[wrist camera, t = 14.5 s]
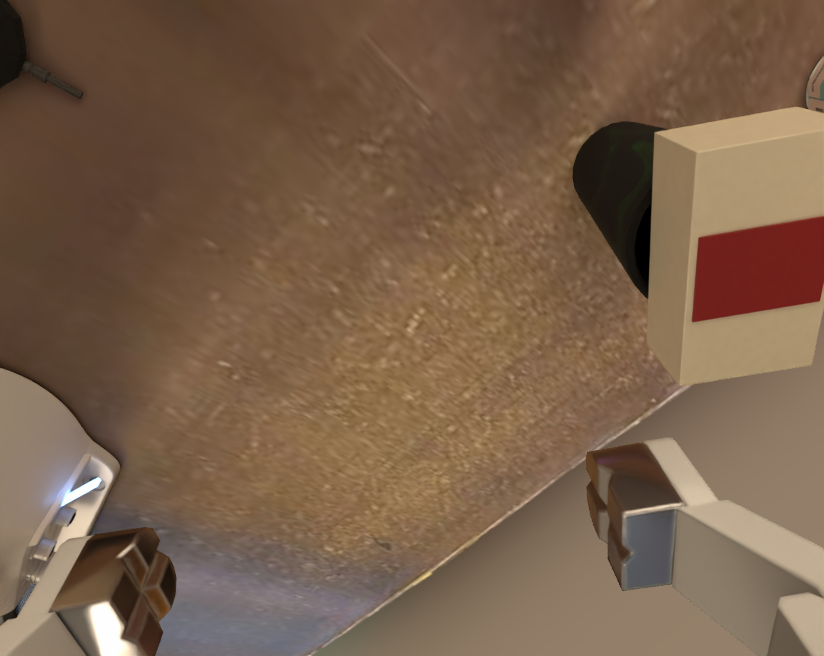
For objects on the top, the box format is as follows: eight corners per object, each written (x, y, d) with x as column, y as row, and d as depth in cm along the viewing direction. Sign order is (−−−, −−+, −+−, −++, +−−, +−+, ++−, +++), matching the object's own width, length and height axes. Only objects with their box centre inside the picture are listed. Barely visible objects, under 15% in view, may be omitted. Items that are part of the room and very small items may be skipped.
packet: (763, 324, 28) (813, 367, 24) (646, 343, 28) (680, 388, 25) (796, 106, 23) (865, 122, 19) (653, 131, 23) (698, 152, 20)
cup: (651, 236, 38) (752, 324, 28) (540, 217, 37) (602, 300, 27) (700, 116, 34) (838, 163, 24) (579, 91, 33) (668, 129, 23)
